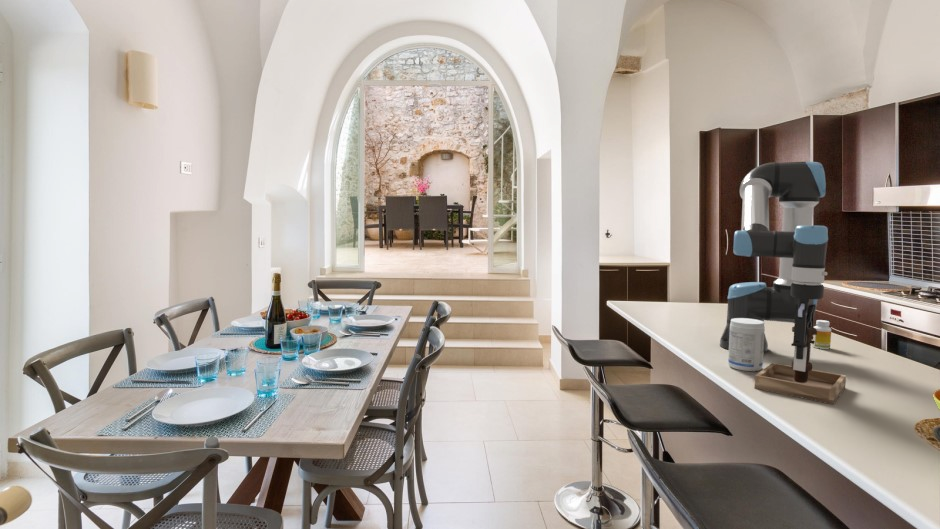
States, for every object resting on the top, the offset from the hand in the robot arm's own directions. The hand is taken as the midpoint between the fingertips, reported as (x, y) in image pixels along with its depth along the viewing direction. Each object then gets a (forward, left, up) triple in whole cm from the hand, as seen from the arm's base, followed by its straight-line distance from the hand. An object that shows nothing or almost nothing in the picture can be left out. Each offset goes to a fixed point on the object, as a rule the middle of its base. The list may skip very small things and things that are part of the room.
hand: (801, 368), depth 147 cm
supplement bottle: (-59, -5, -6) cm, 59 cm away
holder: (0, 0, -5) cm, 5 cm away
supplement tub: (-11, -17, -6) cm, 21 cm away
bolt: (0, 0, -4) cm, 4 cm away
